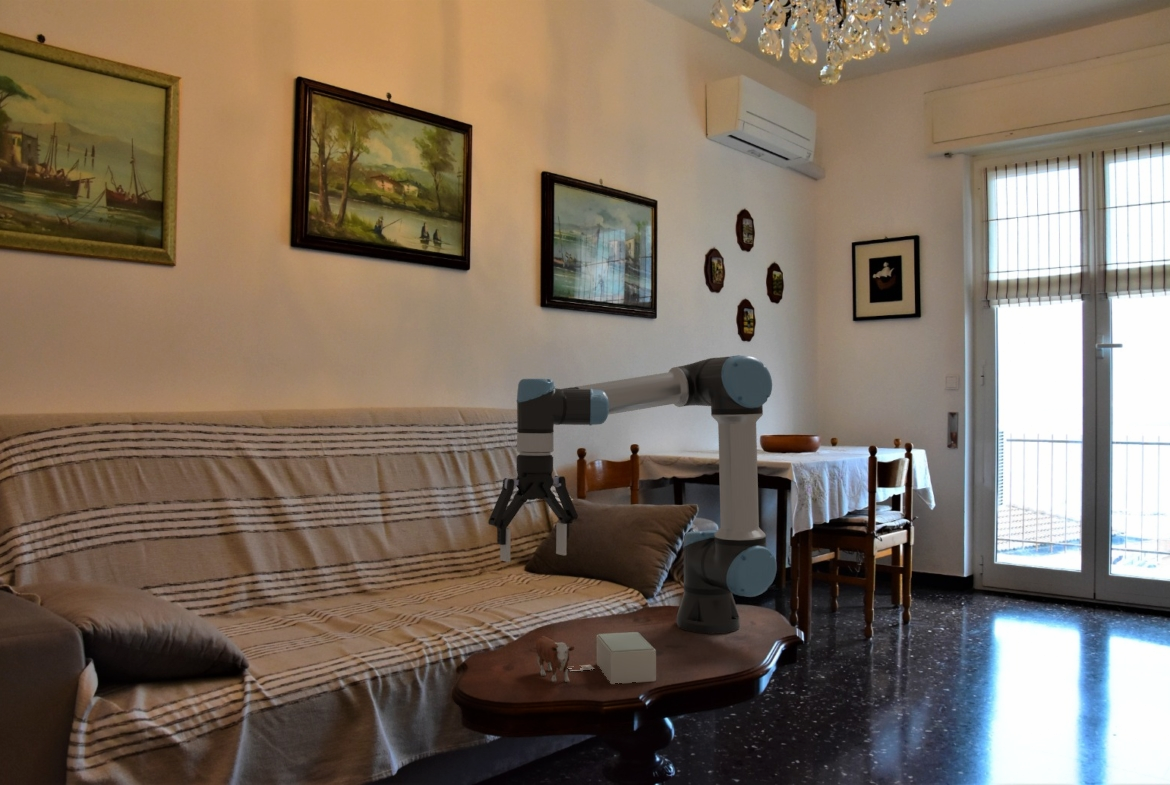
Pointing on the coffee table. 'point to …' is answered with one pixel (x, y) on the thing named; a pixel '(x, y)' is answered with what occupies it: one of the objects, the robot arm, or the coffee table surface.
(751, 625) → the coffee table surface
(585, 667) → the page
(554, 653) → the bull figurine
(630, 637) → the plinth
